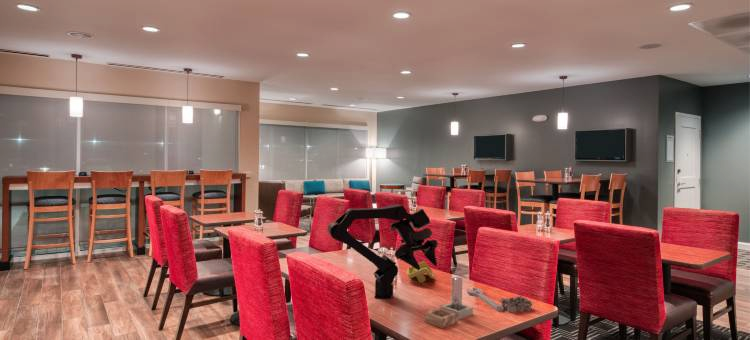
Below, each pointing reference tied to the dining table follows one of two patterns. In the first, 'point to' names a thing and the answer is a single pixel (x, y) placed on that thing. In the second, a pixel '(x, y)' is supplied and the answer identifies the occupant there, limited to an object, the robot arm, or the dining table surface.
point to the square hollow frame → (461, 313)
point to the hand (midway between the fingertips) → (427, 267)
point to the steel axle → (456, 293)
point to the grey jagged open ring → (516, 304)
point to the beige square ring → (441, 317)
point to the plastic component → (420, 272)
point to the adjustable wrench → (485, 298)
